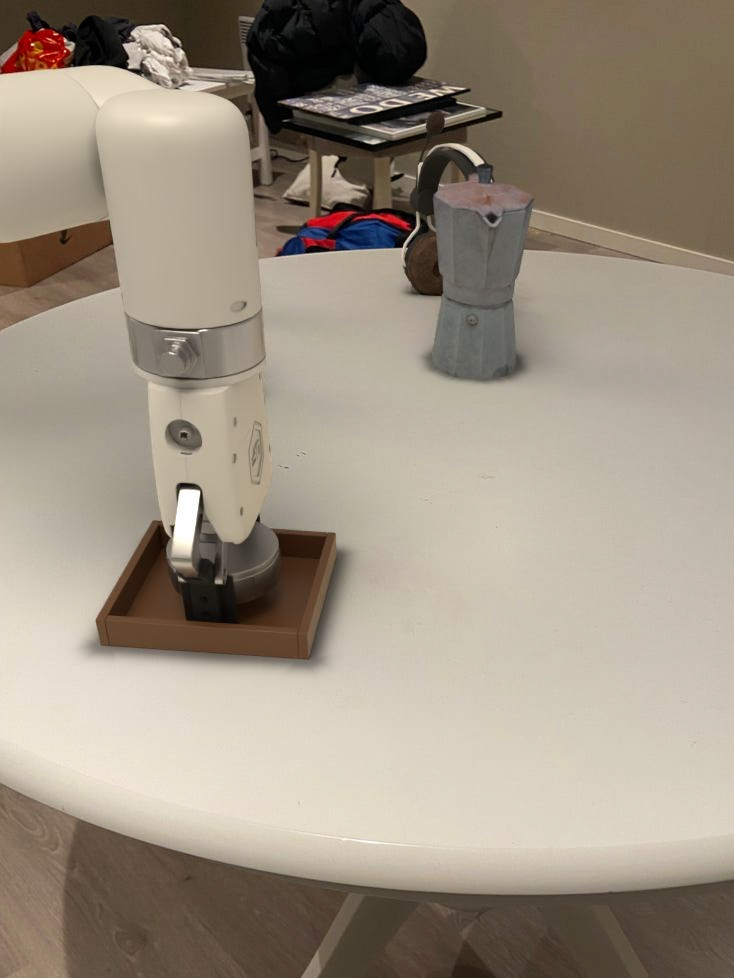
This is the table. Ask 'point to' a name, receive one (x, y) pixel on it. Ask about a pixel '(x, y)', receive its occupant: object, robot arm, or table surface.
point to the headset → (432, 208)
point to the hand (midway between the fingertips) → (227, 591)
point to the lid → (243, 562)
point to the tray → (261, 622)
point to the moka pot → (479, 274)
